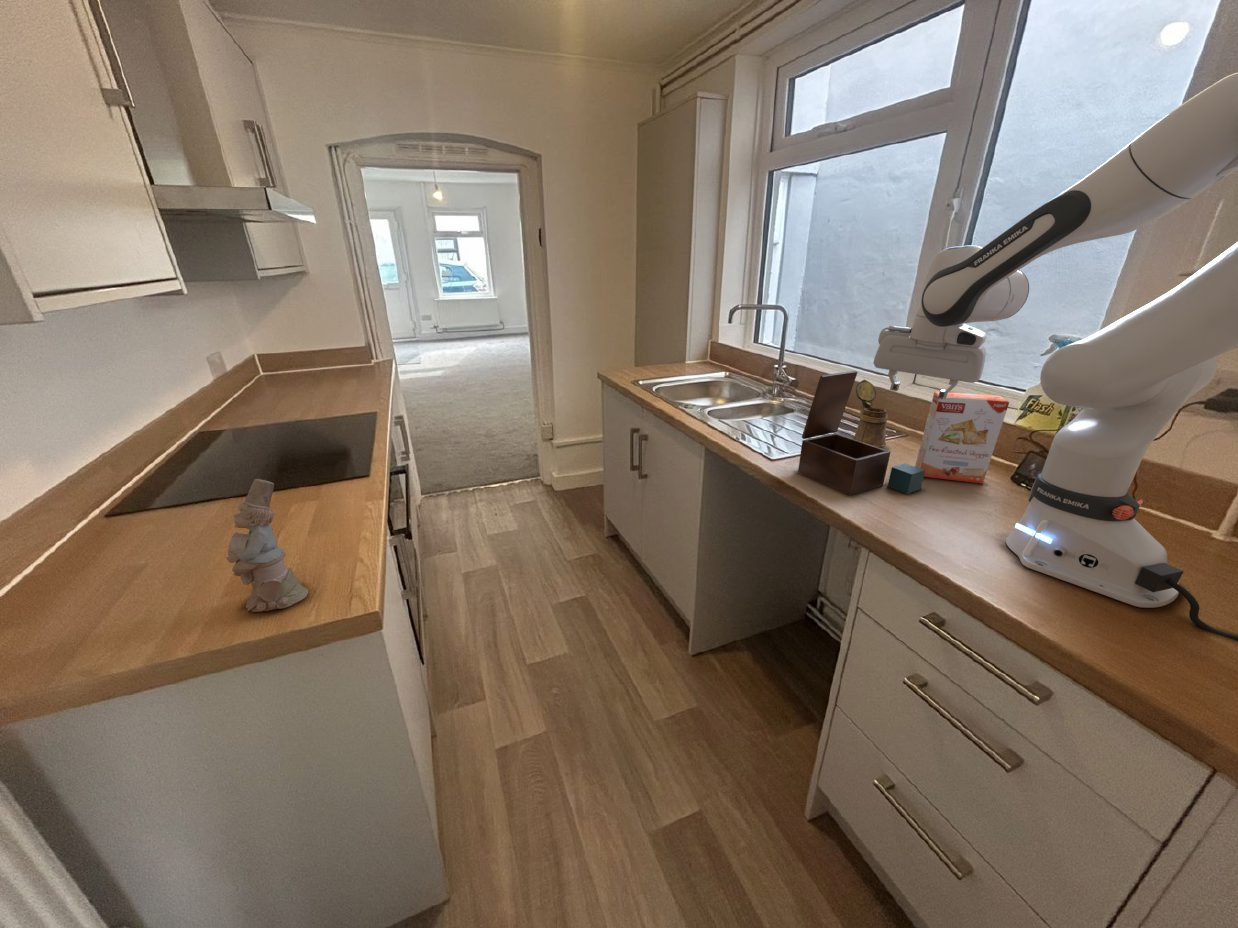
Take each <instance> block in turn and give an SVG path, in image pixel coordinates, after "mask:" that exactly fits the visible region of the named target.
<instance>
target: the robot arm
mask: <svg viewBox="0 0 1238 928" xmlns="http://www.w3.org/2000/svg"><path fill="white" fill-rule="evenodd" d="M1237 171H1238V71H1237V72H1234V73H1232V74H1230V75H1227V76H1225V77H1223V78H1221V79H1219V80H1218V81H1216V82H1214V83H1213V84H1211V85H1210V86H1208V87H1207V88H1205V89H1204V90H1201V91H1200V92H1199V93H1197V94H1196V95H1194V96H1192V97H1191V98H1189V99H1187V100H1186V101H1185V102H1183V103H1182V104H1181V105H1179V106H1177V107H1176V108H1175V109H1173V110H1171V111H1170V112H1169V113H1167V114H1166V115H1164V116H1163V117H1161V118H1160V119H1159V120H1158V121H1157V122H1154V124H1152V125H1151V126H1149V127H1148V128H1147V129H1146V130H1145V131H1143V132H1142V133H1141V134H1139V135H1138V136H1136V137H1135V138H1134V139H1133V140H1132V141H1130V143H1128V144H1127V145H1125V146H1124V147H1123V148H1122V149H1120V150H1119V151H1118V152H1116V153H1115V154H1114V155H1113V156H1112V157H1110V158H1109V159H1108V160H1107V161H1105V162H1104V163H1103V164H1101V165H1100V166H1098V167H1097V168H1096V169H1094V170H1093V171H1092V172H1090V173H1089V174H1087V175H1086V176H1085V177H1083V178H1082V179H1080V180H1079V181H1077V182H1076V183H1074V184H1073V185H1072V186H1070V187H1069V188H1067V189H1066V190H1064V191H1062V192H1061V193H1059V194H1058V195H1055V197H1053V198H1052V199H1050V200H1049V201H1047V202H1046V203H1044V204H1043V205H1041V206H1039V207H1037V208H1036V209H1034V210H1033V211H1031V212H1030V213H1029V214H1027V215H1026V216H1025V217H1023V218H1022V219H1020V220H1019V221H1018V222H1016V223H1014V224H1013V225H1012V226H1011V227H1010V228H1007V229H1006V230H1005V231H1004V232H1002V233H1001V234H1000V235H998V236H997V237H995V238H994V239H993V240H991V241H990V242H989V243H988V244H986V245H985V246H983V247H982V246H979V245H973V244H972V245H971V244H969V245H961V246H960V245H959V246H958V245H957V246H951V247H946V248H942V249H941V250H940V251H938V252H937V253H936V254H935V256H934V257H933V259H932V261H931V262H930V265H929V268H928V269H927V273H926V275H925V278H924V282H923V286H922V289H921V300H920V304H919V307H918V308H917V310H916V312H915V315H914V319H913V324H912V327H908V326H907V327H906V326H902V327H901V326H895V325H889V326H888V327H885V328H883V329H882V330H881V331H880V332H879V335H878V338H877V339H878V340H877V341H878V347H877V350H876V352H875V355H874V358H873V362H872V364H873V365H874V367H875V368H876V369H881V370H888V373H887V375H888V376H887V377H888V379H889V381H890V388H889V390H890V391H895V392H898V391H899V389H900V386H901V381H897V378H896V375H897V374H898V372H899V373H900V372H901V373H905V374H906V373H907V374H913V375H919V376H925V377H931V378H938V379H939V378H940V379H944V380H949V381H948V385H949V386H948V387H947V388H946V389H943V388H941V389H940V390H939V396H938V399H943V400H946V398H947V395H948V392H952V390H953V389H954V388H956V387H957V385H958V383H959V382H964V383H971V384H975V383H976V382H978V381H980V380H981V377H982V374H983V371H984V367H985V363H986V354H987V352H986V348H985V346H984V344H985V342H986V340H987V333H986V332H985V331H983V330H981V329H978V328H976V327H974V326H971V325H969V324H977V323H978V324H979V323H989V322H996V321H997V322H998V321H1001V320H1005V319H1006V320H1007V319H1009V318H1011V317H1012V316H1015V315H1016V314H1017V313H1019V312H1020V310H1021V309H1022V308H1023V307H1024V305H1025V303H1026V302H1027V299H1028V297H1029V294H1030V282H1029V279H1028V277H1027V276H1026V274H1025V273H1024V272H1023V271H1021V269H1022V268H1024V267H1027V266H1028V265H1029V264H1030V263H1032V262H1034V261H1035V260H1037V259H1038V258H1039V259H1040V258H1041V257H1043V256H1044V255H1047V254H1049V253H1051V252H1053V251H1056V250H1059V249H1062V248H1065V247H1069V246H1073V245H1077V244H1080V243H1084V242H1085V243H1086V242H1090V241H1095V240H1099V239H1107V238H1110V237H1117V236H1122V235H1126V234H1130V233H1132V232H1134V231H1137V230H1140V229H1141V228H1143V227H1146V226H1147V225H1149V224H1152V223H1153V222H1155V221H1157V220H1159V219H1161V218H1163V217H1165V216H1167V215H1168V214H1171V213H1172V212H1174V211H1175V210H1177V209H1178V208H1180V207H1182V206H1184V205H1185V204H1186V203H1188V202H1189V201H1191V200H1192V199H1193V198H1196V197H1197V196H1199V195H1200V194H1202V193H1203V192H1204V191H1206V190H1208V189H1209V188H1210V187H1212V186H1213V185H1215V184H1216V183H1218V182H1219V181H1221V180H1223V179H1224V178H1226V177H1228V176H1230V175H1231V174H1234V173H1235V172H1237ZM1236 349H1238V241H1236V242H1235V243H1234V244H1233V245H1231V246H1230V247H1229V248H1226V250H1225V251H1223V252H1222V253H1220V254H1219V255H1217V257H1215V258H1214V259H1212V260H1211V261H1209V262H1208V263H1207V264H1206V265H1204V266H1203V267H1201V268H1200V269H1199V270H1197V271H1196V272H1194V273H1193V274H1192V275H1190V276H1189V277H1188V278H1186V279H1185V280H1183V281H1182V282H1181V283H1179V284H1177V285H1176V286H1175V287H1174V288H1172V289H1170V290H1168V291H1167V292H1166V293H1163V294H1162V295H1161V296H1159V297H1157V298H1156V299H1154V300H1152V301H1150V302H1149V303H1146V304H1145V305H1143V306H1141V307H1139V308H1137V309H1135V310H1134V311H1132V312H1130V313H1129V314H1126V315H1125V316H1123V317H1121V318H1119V319H1117V320H1116V321H1114V322H1112V323H1110V324H1108V325H1107V326H1105V327H1104V328H1102V329H1100V330H1097V331H1096V332H1094V333H1092V334H1090V335H1088V336H1087V337H1085V338H1082V339H1080V340H1077V341H1075V342H1072V343H1069V344H1066V345H1065V346H1062V347H1061V348H1059V349H1057V350H1055V351H1054V352H1052V353H1051V354H1050V356H1048V357H1047V359H1046V360H1045V362H1044V364H1043V365H1042V367H1041V371H1040V377H1039V378H1040V380H1039V381H1040V387H1041V389H1042V390H1043V392H1044V394H1045V395H1046V397H1047V398H1048V399H1050V400H1051V401H1052V402H1053V403H1054V402H1055V403H1057V404H1059V405H1061V406H1067V407H1072V408H1078V409H1081V410H1080V411H1079V412H1078V414H1077V415H1076V416H1075V417H1074V418H1073V419H1072V420H1071V421H1070V422H1068V423H1067V424H1066V425H1064V426H1062V428H1060V429H1059V430H1058V431H1057V433H1056V434H1055V435H1054V437H1053V439H1052V442H1051V445H1050V448H1049V451H1048V454H1047V456H1046V459H1045V462H1044V464H1043V467H1042V470H1041V473H1037V476H1036V479H1035V480H1034V482H1033V484H1032V486H1031V489H1030V493H1029V498H1028V502H1029V503H1028V505H1027V507H1026V509H1025V511H1024V512H1023V515H1022V516H1021V518H1020V519H1019V522H1017V523H1015V526H1014V528H1013V530H1012V531H1011V533H1010V534H1009V535H1008V536H1007V537H1006V538H1005V543H1006V546H1007V547H1008V549H1010V551H1012V552H1013V553H1014V554H1015V555H1016V556H1017V557H1018V558H1019V561H1020V563H1021V564H1022V565H1023V566H1024V567H1025V568H1027V569H1030V570H1033V571H1036V572H1039V573H1042V574H1044V575H1047V576H1050V577H1052V578H1056V579H1058V580H1061V581H1064V582H1067V583H1069V584H1072V585H1074V586H1078V587H1080V588H1083V589H1086V590H1089V591H1092V592H1093V593H1094V592H1095V593H1097V594H1100V595H1102V596H1106V597H1108V598H1111V599H1114V600H1117V601H1120V602H1121V603H1124V604H1128V605H1131V606H1133V607H1138V608H1142V609H1143V608H1144V609H1151V608H1154V609H1155V608H1160V607H1164V606H1167V605H1169V604H1171V603H1172V602H1174V601H1175V600H1176V599H1177V598H1178V596H1179V595H1181V596H1182V597H1183V598H1185V600H1186V601H1187V602H1188V604H1189V614H1188V616H1189V619H1190V621H1191V622H1192V623H1193V624H1194V625H1195V626H1197V627H1198V628H1200V629H1202V630H1204V631H1207V632H1209V633H1212V634H1216V635H1219V636H1223V637H1225V638H1228V639H1231V640H1234V641H1238V635H1236V634H1232V633H1228V632H1224V631H1221V630H1218V629H1216V628H1213V627H1212V626H1210V625H1208V624H1206V623H1205V622H1204V621H1203V620H1201V619H1200V617H1199V612H1200V605H1199V603H1198V600H1197V599H1196V598H1195V596H1194V595H1193V594H1192V593H1191V592H1190V591H1188V590H1187V589H1186V588H1184V587H1183V586H1182V585H1181V584H1180V583H1179V581H1180V579H1181V577H1182V576H1183V573H1184V570H1182V569H1181V568H1177V567H1176V566H1174V565H1171V564H1168V559H1169V557H1168V553H1167V549H1166V548H1165V547H1164V546H1163V545H1162V544H1161V543H1160V542H1159V541H1158V540H1157V539H1155V537H1154V536H1152V534H1151V533H1150V532H1148V530H1147V529H1145V528H1144V527H1143V526H1142V524H1140V522H1138V520H1136V519H1135V517H1137V514H1138V512H1139V510H1140V508H1141V507H1142V504H1143V503H1144V500H1143V499H1140V500H1138V501H1137V500H1136V499H1135V498H1134V497H1133V495H1131V494H1130V493H1129V488H1131V487H1130V486H1131V484H1132V482H1133V480H1134V478H1135V476H1136V473H1137V472H1138V470H1139V467H1140V465H1141V464H1142V461H1143V459H1144V456H1145V454H1146V453H1147V451H1148V449H1149V447H1150V446H1151V445H1152V444H1153V442H1154V440H1155V439H1156V438H1157V437H1158V435H1159V434H1160V433H1161V432H1162V431H1163V429H1164V427H1165V426H1166V425H1167V424H1168V423H1169V422H1170V421H1171V419H1172V418H1173V417H1174V416H1175V414H1176V413H1177V412H1178V411H1179V409H1180V408H1181V407H1182V406H1183V405H1184V404H1185V403H1186V401H1188V400H1189V399H1190V398H1191V397H1193V396H1194V395H1195V394H1196V393H1198V392H1199V391H1201V390H1202V389H1203V388H1205V387H1207V385H1208V384H1209V383H1210V382H1211V381H1212V380H1213V378H1214V377H1215V375H1216V372H1217V369H1218V359H1217V357H1218V356H1220V355H1222V354H1225V353H1228V352H1231V351H1233V350H1236Z"/></svg>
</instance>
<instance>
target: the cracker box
mask: <svg viewBox="0 0 1238 928" xmlns="http://www.w3.org/2000/svg"><path fill="white" fill-rule="evenodd" d="M939 392H940V390H939V391H934V392H933V395H932V398H931V403H930V407H929V411H928V415H927V418H926V422H925V426H924V430H923V434H922V437H921V442H920V446H919V449H918V453H917V458H916V461H915V464H914V467H917V468H920V469H923V470H925V473H924V477H923V478H931V479H940V480H950V481H958V482H966V483H967V482H968V483H974V484H975V483H976V484H984V482H985V478H986V475H987V474H988V469H989V466H990V463H991V461H992V457H993V454H994V450H995V448H996V444H997V442H998V438H999V435H1000V432H1001V429H1002V427H1003V424H1004V420H1005V417H1006V413H1007V411H1008V408H1009V405H1010V401H1009V400H1008V399H1006V398H1004V397H1003V396H1002V395H997V394H996V395H995V394H981V393H980V394H979V393H965V392H953V391H949V392H948V395H947V398H946V400H943V399H938V396H939Z"/></svg>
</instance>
